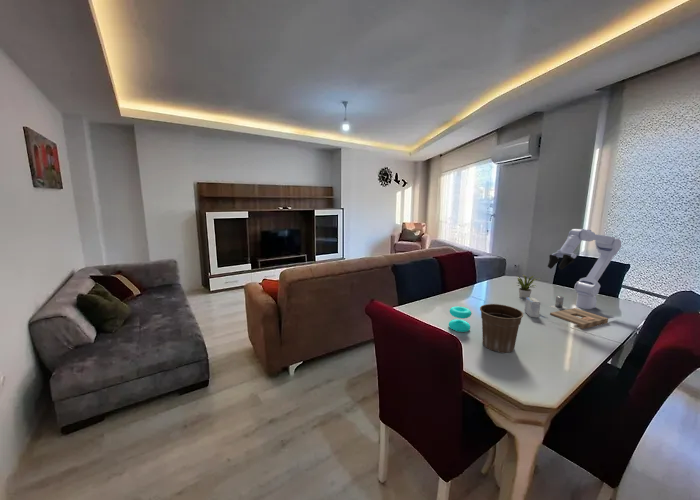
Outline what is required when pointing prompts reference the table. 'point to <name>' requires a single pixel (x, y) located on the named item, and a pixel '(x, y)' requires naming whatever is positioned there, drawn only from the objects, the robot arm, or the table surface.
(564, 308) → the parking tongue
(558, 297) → the steel peg
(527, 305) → the medicine box
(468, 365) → the table surface
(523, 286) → the house plant
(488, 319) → the plant pot
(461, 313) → the donuts
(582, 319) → the hole plate
